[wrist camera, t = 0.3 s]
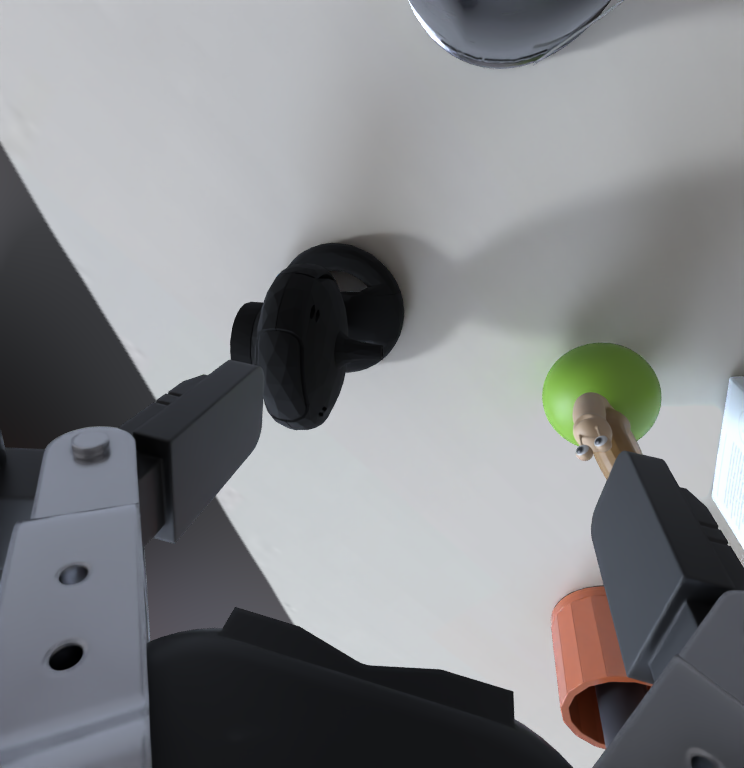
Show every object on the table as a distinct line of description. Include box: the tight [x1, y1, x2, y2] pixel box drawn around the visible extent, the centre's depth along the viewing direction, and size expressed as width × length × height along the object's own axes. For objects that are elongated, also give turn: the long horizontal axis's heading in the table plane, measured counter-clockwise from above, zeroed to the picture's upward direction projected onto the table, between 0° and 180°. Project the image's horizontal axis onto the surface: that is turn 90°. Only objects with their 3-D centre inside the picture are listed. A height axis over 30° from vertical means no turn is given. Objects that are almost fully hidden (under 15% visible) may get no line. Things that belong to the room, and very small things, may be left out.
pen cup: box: [551, 586, 653, 749], centre depth 33 cm, size 7×7×6 cm
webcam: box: [230, 243, 404, 430], centre depth 25 cm, size 8×8×10 cm
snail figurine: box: [542, 343, 661, 479], centre depth 22 cm, size 5×6×12 cm
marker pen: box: [595, 682, 648, 748], centre depth 28 cm, size 3×3×16 cm
